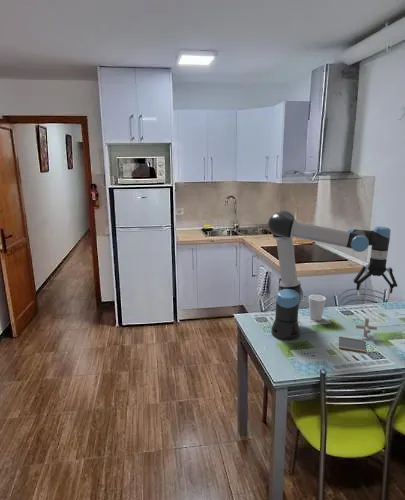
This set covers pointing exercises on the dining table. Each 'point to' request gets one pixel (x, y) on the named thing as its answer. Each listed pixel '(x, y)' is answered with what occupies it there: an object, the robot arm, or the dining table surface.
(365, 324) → the pipe connector
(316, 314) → the foam cup
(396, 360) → the dining table surface
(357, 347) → the mat
